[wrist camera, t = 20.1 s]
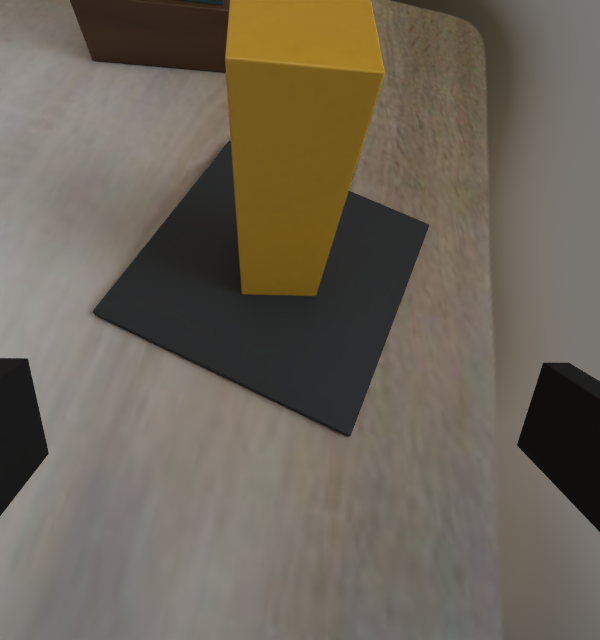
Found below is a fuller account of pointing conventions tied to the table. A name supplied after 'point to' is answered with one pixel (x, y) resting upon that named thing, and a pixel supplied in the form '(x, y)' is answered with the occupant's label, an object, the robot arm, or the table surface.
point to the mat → (270, 301)
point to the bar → (296, 130)
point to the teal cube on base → (156, 32)
